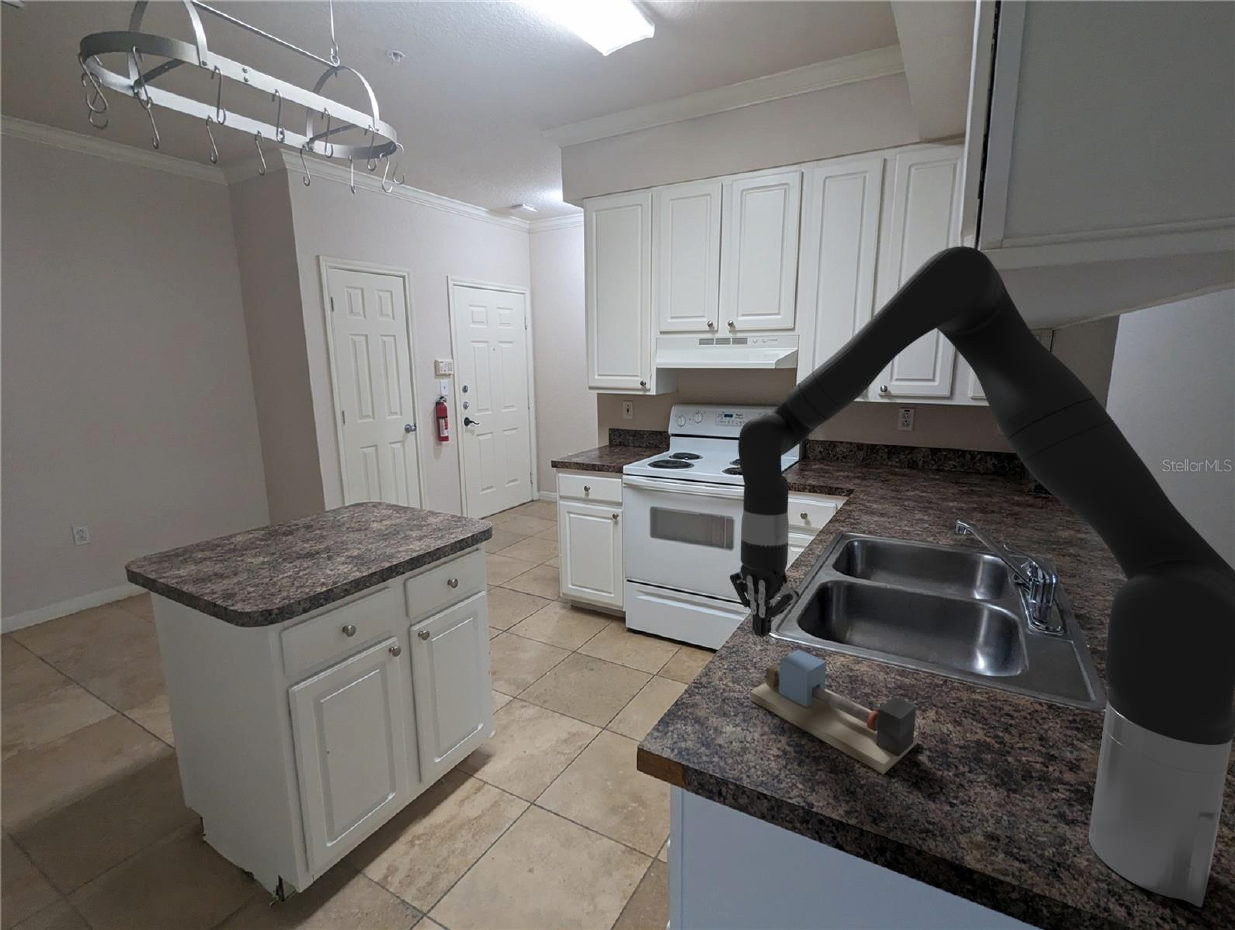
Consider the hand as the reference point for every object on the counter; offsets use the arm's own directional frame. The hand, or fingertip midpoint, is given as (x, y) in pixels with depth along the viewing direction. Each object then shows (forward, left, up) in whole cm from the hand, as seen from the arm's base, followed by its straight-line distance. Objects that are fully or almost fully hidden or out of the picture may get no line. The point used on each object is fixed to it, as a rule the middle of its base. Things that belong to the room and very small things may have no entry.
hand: (761, 634), depth 93 cm
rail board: (-13, 0, -9) cm, 16 cm away
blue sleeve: (-8, 0, -7) cm, 11 cm away
